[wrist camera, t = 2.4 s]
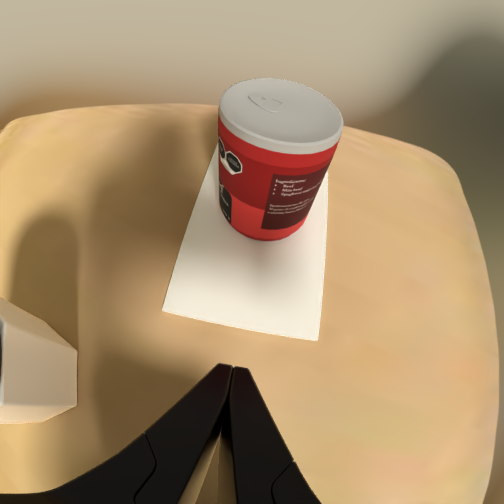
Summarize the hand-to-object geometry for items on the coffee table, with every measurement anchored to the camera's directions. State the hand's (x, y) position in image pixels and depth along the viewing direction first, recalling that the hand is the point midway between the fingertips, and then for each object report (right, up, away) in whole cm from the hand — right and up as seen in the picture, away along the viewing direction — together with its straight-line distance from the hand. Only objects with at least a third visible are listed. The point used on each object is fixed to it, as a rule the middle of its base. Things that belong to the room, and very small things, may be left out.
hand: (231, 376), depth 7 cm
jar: (-17, -7, +10) cm, 21 cm away
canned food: (+2, +7, +18) cm, 20 cm away
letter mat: (+1, +7, +19) cm, 20 cm away
